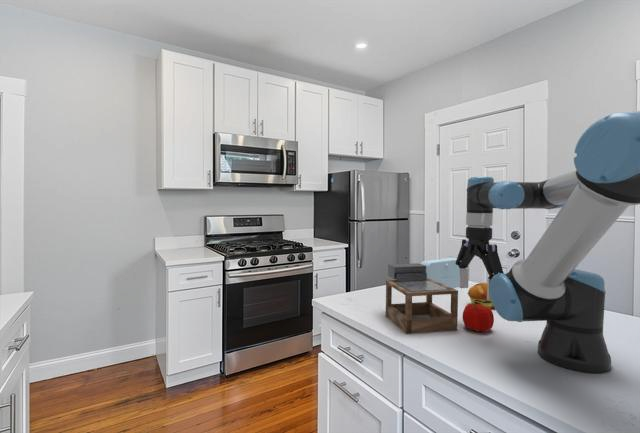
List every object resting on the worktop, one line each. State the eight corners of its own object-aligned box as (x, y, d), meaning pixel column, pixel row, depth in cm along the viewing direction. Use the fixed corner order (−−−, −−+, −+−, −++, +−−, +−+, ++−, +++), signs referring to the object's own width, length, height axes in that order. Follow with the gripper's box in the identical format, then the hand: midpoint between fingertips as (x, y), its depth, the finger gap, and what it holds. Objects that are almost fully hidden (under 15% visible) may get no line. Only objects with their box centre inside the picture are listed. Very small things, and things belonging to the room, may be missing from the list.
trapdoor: (386, 280, 125) (386, 264, 125) (419, 278, 127) (419, 263, 127) (410, 294, 106) (410, 275, 106) (448, 292, 108) (449, 274, 108)
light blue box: (430, 293, 151) (430, 263, 150) (420, 290, 155) (420, 261, 155) (463, 286, 163) (464, 259, 162) (453, 284, 168) (453, 257, 167)
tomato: (478, 322, 114) (478, 300, 113) (499, 332, 105) (500, 308, 105) (454, 325, 111) (455, 303, 111) (475, 336, 102) (475, 311, 102)
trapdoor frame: (457, 329, 107) (458, 290, 107) (407, 333, 104) (407, 293, 104) (429, 312, 124) (430, 278, 124) (385, 315, 121) (386, 280, 120)
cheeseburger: (506, 307, 130) (502, 283, 128) (485, 317, 126) (481, 292, 125) (484, 300, 139) (481, 277, 138) (464, 309, 136) (460, 285, 134)
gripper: (520, 230, 95) (517, 304, 96) (465, 223, 120) (463, 283, 121) (496, 230, 94) (493, 306, 95) (446, 223, 118) (444, 284, 119)
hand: (477, 293), depth 108 cm, fingers open, 13 cm apart
